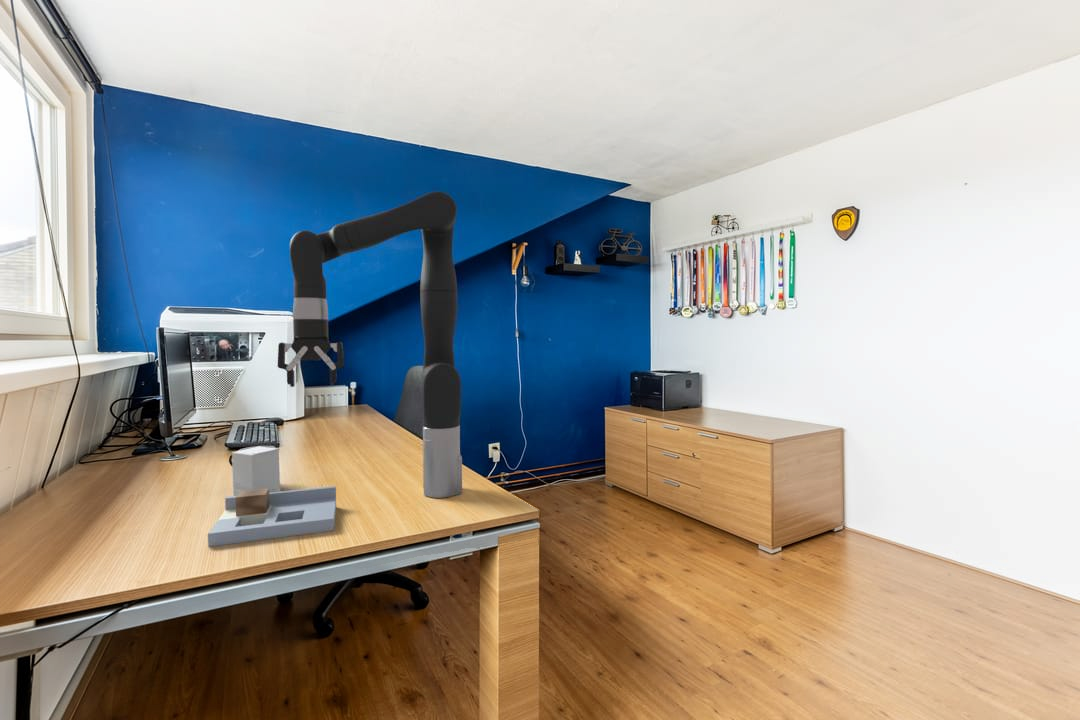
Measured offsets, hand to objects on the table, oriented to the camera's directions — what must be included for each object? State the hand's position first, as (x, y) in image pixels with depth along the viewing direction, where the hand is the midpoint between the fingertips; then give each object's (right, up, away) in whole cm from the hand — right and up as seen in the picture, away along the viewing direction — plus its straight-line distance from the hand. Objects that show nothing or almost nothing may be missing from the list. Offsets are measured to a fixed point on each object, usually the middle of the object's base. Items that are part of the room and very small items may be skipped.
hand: (312, 385), depth 118 cm
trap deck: (-1, -29, -13) cm, 32 cm away
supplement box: (-14, -28, +1) cm, 32 cm away
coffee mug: (-22, -28, +14) cm, 38 cm away
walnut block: (-7, -26, -12) cm, 30 cm away
